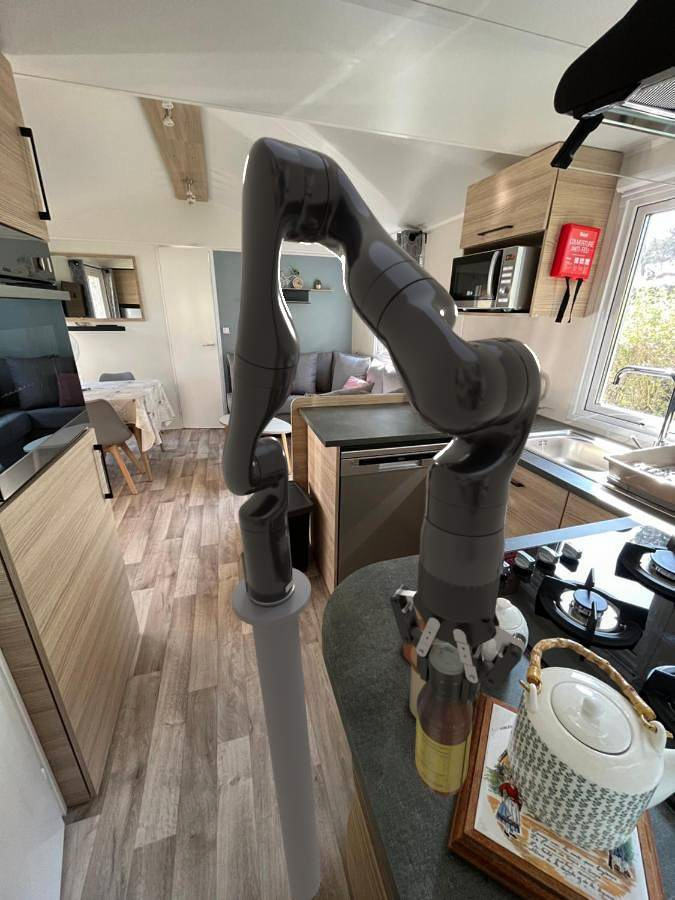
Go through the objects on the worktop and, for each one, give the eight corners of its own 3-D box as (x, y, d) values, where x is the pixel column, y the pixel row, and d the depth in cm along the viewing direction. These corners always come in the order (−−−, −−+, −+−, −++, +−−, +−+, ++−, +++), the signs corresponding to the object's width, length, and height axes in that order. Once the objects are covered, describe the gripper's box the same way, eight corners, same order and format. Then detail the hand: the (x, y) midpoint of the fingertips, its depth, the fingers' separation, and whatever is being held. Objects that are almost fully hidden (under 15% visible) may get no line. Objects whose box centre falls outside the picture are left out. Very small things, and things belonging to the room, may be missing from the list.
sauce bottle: (438, 734, 52) (449, 621, 45) (476, 779, 47) (495, 660, 40) (402, 765, 48) (407, 648, 41) (439, 816, 43) (452, 693, 36)
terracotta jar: (396, 656, 65) (397, 610, 61) (410, 635, 69) (412, 590, 66) (426, 672, 62) (429, 624, 58) (438, 649, 66) (442, 603, 63)
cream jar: (401, 711, 56) (403, 660, 53) (417, 683, 60) (420, 634, 57) (436, 733, 53) (441, 680, 50) (450, 702, 57) (455, 651, 54)
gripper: (374, 552, 37) (374, 678, 43) (533, 612, 29) (505, 756, 35) (408, 518, 43) (403, 634, 49) (549, 561, 35) (522, 693, 41)
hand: (446, 685), depth 42 cm, fingers closed on sauce bottle, 4 cm apart
